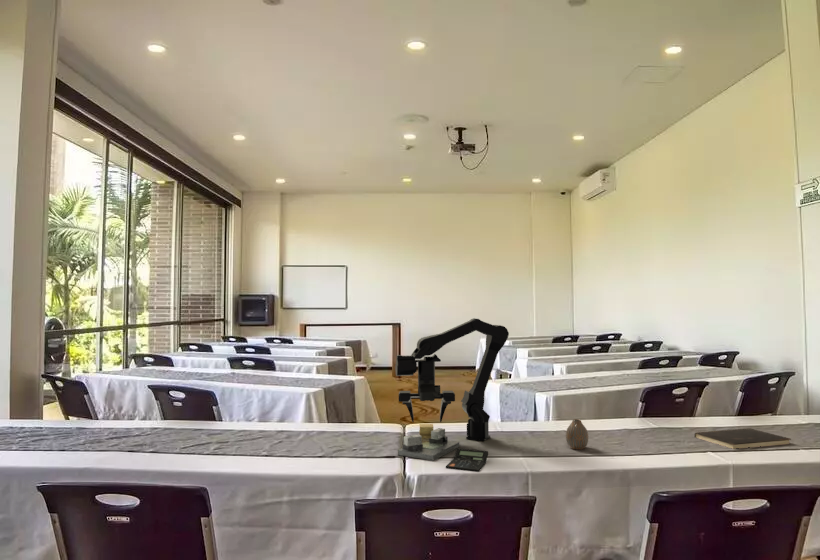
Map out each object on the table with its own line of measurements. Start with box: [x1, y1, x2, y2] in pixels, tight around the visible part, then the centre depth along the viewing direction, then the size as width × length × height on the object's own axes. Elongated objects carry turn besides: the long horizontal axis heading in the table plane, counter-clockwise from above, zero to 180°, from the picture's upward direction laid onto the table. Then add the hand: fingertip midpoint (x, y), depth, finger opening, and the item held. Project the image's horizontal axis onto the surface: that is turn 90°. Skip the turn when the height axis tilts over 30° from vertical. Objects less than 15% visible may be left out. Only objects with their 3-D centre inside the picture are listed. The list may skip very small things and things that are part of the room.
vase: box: [565, 418, 589, 451], centre depth 174 cm, size 7×7×9 cm
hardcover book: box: [694, 427, 792, 450], centre depth 183 cm, size 16×23×2 cm
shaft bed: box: [397, 427, 460, 462], centre depth 171 cm, size 12×18×5 cm, turn 150°
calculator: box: [445, 447, 489, 472], centre depth 157 cm, size 9×12×3 cm
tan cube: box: [418, 423, 434, 439], centre depth 184 cm, size 5×5×5 cm
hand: (426, 422), depth 184 cm, fingers open, 9 cm apart
